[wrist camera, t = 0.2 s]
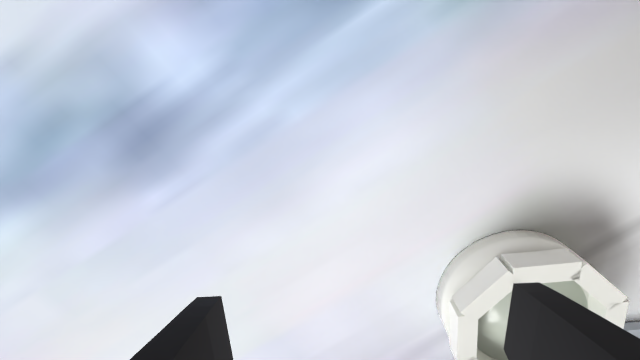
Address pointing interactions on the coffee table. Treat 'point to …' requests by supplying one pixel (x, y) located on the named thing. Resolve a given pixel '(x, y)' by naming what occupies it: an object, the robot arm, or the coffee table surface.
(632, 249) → the coffee table surface
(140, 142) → the coffee table surface
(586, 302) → the bowl
